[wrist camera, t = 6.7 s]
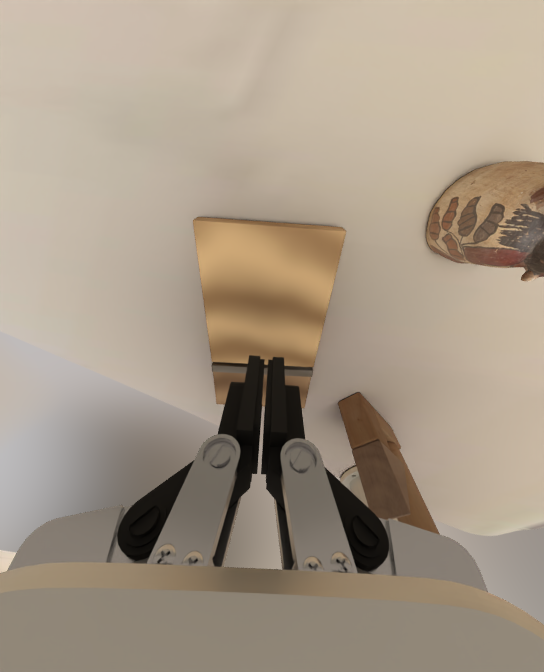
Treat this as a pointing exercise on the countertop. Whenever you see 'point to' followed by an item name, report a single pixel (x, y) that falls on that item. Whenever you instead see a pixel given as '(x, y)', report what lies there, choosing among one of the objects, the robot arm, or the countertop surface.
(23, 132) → the countertop surface
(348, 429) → the wooden block stack
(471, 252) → the figurine
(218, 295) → the oak plank
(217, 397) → the brown flat block
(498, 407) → the countertop surface
